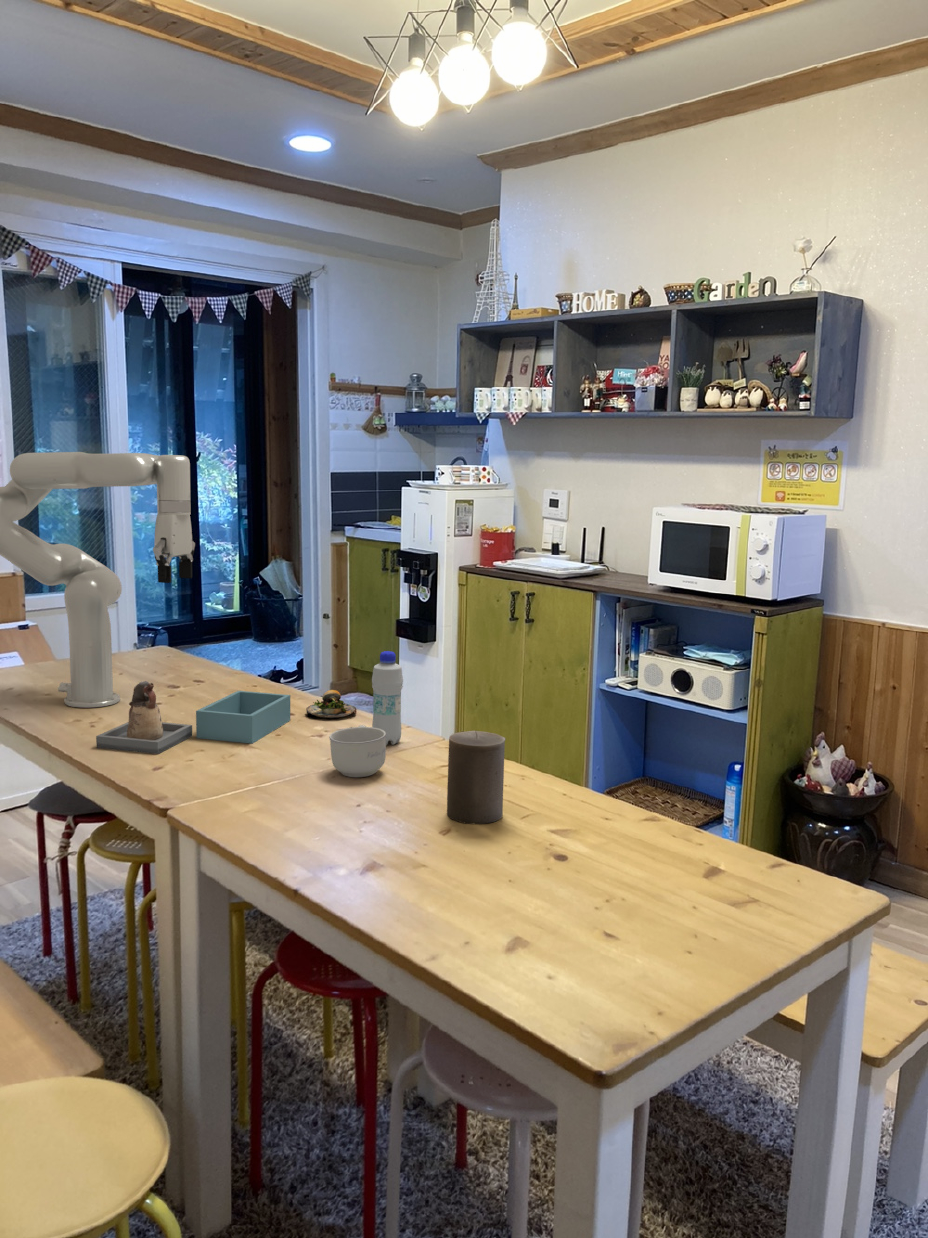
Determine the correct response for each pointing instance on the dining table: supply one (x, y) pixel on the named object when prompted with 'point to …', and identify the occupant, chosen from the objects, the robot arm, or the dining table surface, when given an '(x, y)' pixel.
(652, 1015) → the dining table surface
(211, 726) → the tub
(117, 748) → the tray
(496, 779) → the pillar candle
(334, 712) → the burger
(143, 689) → the figurine
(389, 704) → the bottle
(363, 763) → the teacup
